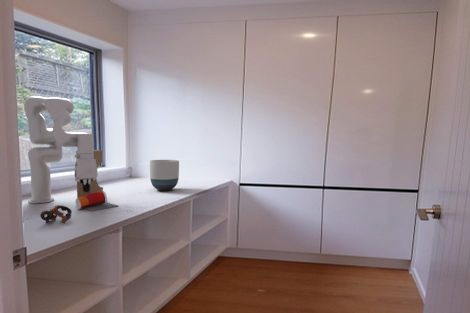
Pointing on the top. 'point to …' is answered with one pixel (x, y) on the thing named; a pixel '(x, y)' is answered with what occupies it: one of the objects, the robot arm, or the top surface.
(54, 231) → the top surface
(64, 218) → the brown looped knot sculpture
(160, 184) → the planter
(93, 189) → the decorative block
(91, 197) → the paper cup
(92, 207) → the mat
